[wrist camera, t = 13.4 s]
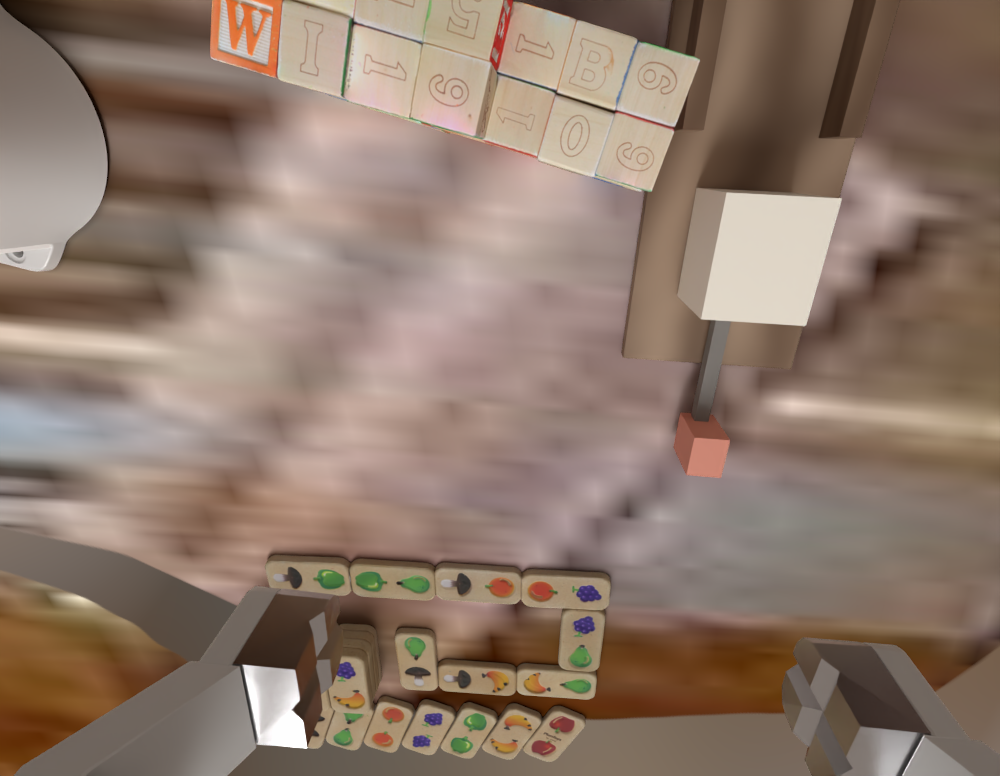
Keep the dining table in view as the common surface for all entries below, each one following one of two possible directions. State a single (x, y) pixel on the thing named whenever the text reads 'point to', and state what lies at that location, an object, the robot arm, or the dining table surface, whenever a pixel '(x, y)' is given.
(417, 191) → the dining table surface
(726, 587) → the dining table surface
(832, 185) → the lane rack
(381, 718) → the pile of dominoes
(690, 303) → the block
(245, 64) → the stack of blocks
